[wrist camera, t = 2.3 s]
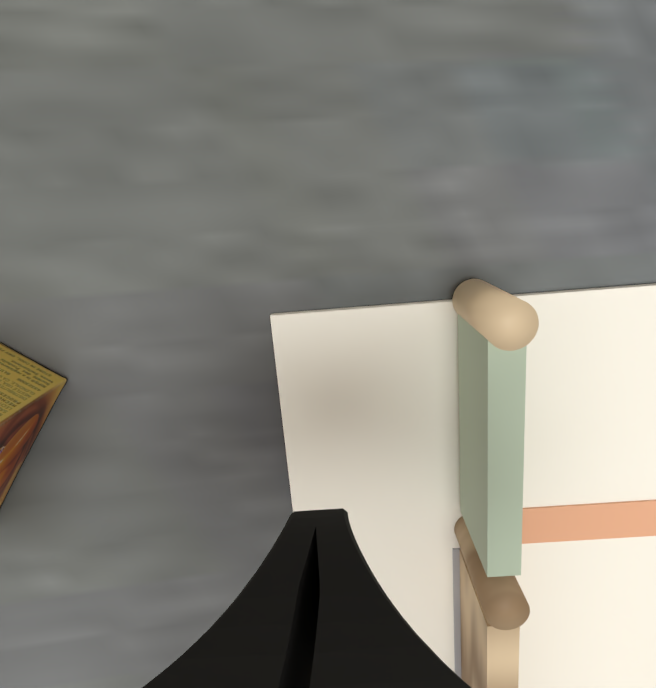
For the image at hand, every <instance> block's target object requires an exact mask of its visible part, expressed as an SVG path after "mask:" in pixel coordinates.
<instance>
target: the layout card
mask: <svg viewBox="0 0 656 688" xmlns="http://www.w3.org/2000/svg"><path fill="white" fill-rule="evenodd" d="M513 296H515V297H517V298H519V299H521V300H523V301H525V302H527V303H529V304H530V305H531V306H532V307H533V308H534V309H535V311H536V313H537V315H538V319H539V327H538V331H537V333H536V335H535V337H534V338H533V340H532V341H531V342H530V343H529V344H528V345H527V349H526V390H525V431H524V472H523V514H522V555H521V575H517V576H515V577H516V579H517V581H518V583H519V585H520V588H521V590H522V592H523V594H524V596H525V598H526V600H527V602H528V604H529V607H530V614H529V617H528V619H527V620H526V622H525V623H524V624H523V625H521V626H520V637H519V679H518V688H656V283H653V284H641V285H628V286H615V287H603V288H590V289H577V290H565V291H552V292H539V293H527V294H514V295H513ZM270 319H271V328H272V336H273V345H274V354H275V362H276V371H277V379H278V388H279V396H280V405H281V413H282V422H283V430H284V439H285V448H286V456H287V465H288V473H289V482H290V490H291V499H292V507H293V512H294V511H308V510H324V509H340V508H343V509H344V510H346V511H347V512H348V518H349V523H350V526H351V529H352V532H353V534H354V537H355V539H356V542H357V544H358V546H359V548H360V550H361V552H362V554H363V556H364V558H365V560H366V562H367V564H368V566H369V567H370V569H371V571H372V573H373V574H374V576H375V578H376V579H377V581H378V582H379V584H380V586H381V587H382V589H383V590H384V592H385V593H386V595H387V596H388V598H389V599H390V601H391V602H392V603H393V605H394V606H395V607H396V609H397V610H398V611H399V613H400V614H401V615H402V617H403V618H404V619H405V620H406V622H407V623H408V624H409V625H410V626H411V628H412V629H413V630H414V631H415V632H416V634H417V635H418V636H419V637H420V638H421V639H422V640H423V641H424V642H425V643H426V644H427V645H428V646H429V647H430V648H431V650H432V651H433V652H434V653H435V654H436V655H437V656H438V657H439V658H440V659H441V660H442V661H443V662H444V663H445V664H446V665H447V666H448V667H449V668H450V669H451V670H452V671H454V672H455V673H456V674H457V675H458V676H459V677H460V678H461V618H460V551H459V549H460V546H459V543H458V541H457V538H456V535H455V532H454V527H455V524H456V522H457V520H458V519H459V518H460V517H462V514H461V511H460V441H459V369H458V314H457V312H456V311H455V309H454V307H453V303H452V299H451V300H438V301H425V302H412V303H400V304H387V305H374V306H362V307H349V308H336V309H324V310H311V311H298V312H286V313H273V314H271V315H270Z"/></svg>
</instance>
